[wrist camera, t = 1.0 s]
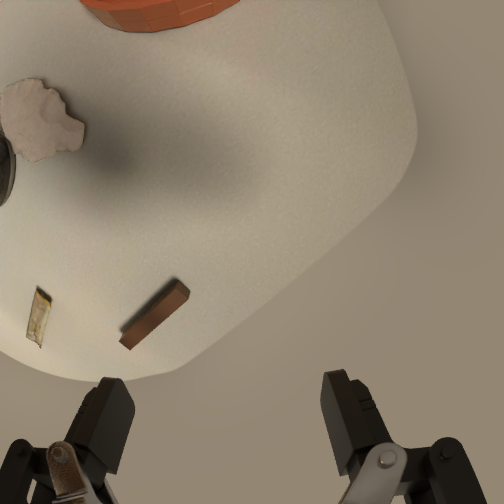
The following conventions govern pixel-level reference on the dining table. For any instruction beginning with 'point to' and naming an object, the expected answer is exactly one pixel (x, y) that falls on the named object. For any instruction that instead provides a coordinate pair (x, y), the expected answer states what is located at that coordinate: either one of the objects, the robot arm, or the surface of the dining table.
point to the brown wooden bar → (155, 315)
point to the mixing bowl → (153, 12)
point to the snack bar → (38, 318)
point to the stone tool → (38, 121)
